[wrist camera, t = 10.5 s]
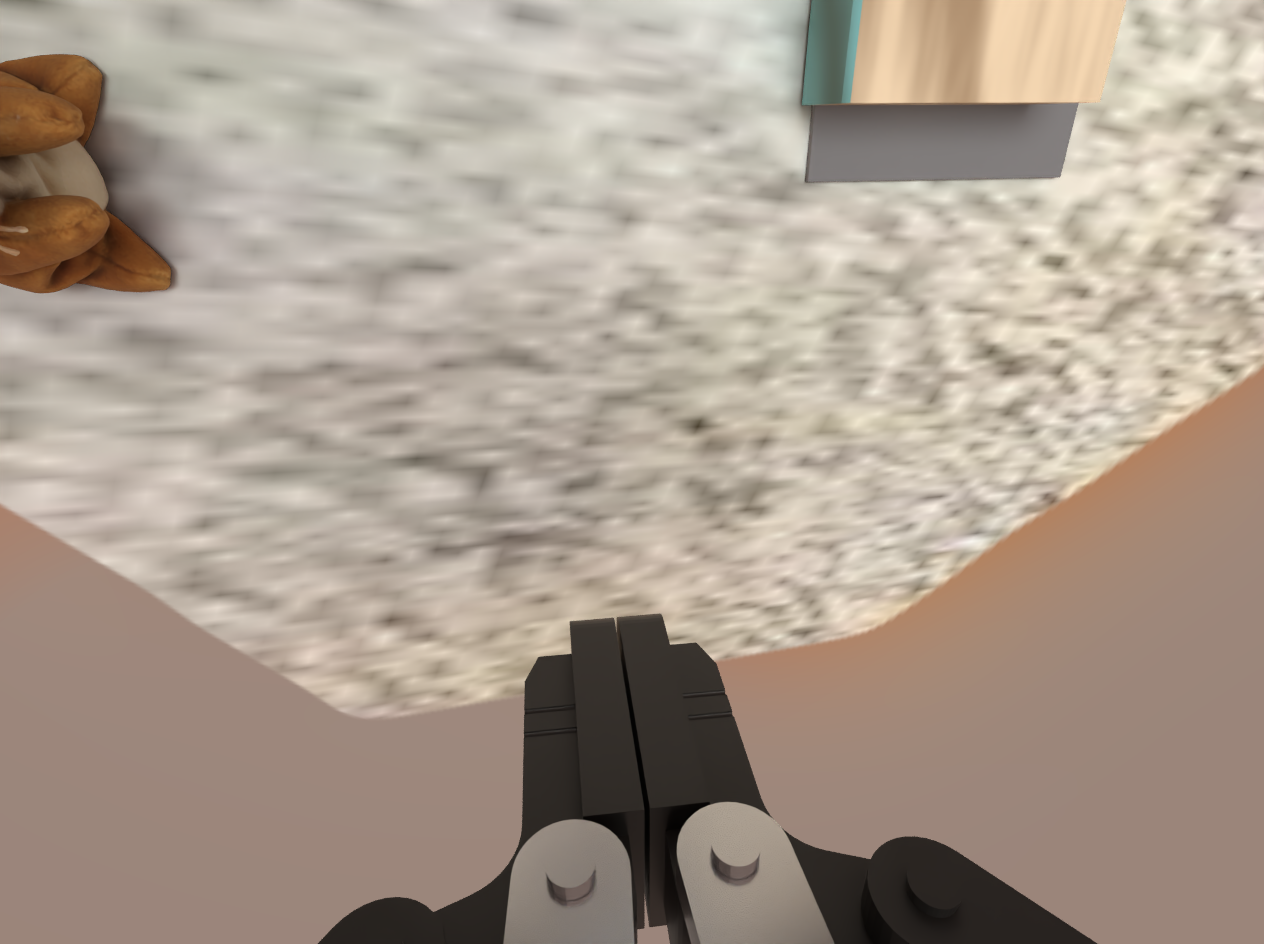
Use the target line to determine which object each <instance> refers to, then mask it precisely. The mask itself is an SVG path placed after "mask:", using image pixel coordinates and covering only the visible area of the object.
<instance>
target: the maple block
mask: <svg viewBox="0 0 1264 944" xmlns="http://www.w3.org/2000/svg"><path fill="white" fill-rule="evenodd" d="M1125 3H1126V0H812V1H811V12H810V23H809V34H808V45H807V56H806V66H805V77H804V88H803V99H802V105H1019V104H1060V103H1091V102H1100V99H1101V95H1102V91H1103V88H1104V84H1105V80H1106V76H1107V72H1108V68H1109V65H1110V61H1111V57H1112V53H1113V49H1114V45H1115V42H1116V38H1117V34H1118V30H1119V26H1120V22H1121V19H1122V15H1123V11H1124V7H1125Z"/></svg>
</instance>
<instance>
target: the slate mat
mask: <svg viewBox="0 0 1264 944" xmlns="http://www.w3.org/2000/svg"><path fill="white" fill-rule="evenodd" d="M1077 107H1078V103H1060V104H1019V105H813V106H812V116H811V126H810V137H809V147H808V158H807V168H806V178H805V181H806V182H833V181H887V180H942V179H996V178H1050V177H1060V176H1061V172H1062V168H1063V164H1064V160H1065V155H1066V151H1067V147H1068V143H1069V139H1070V135H1071V131H1072V127H1073V123H1074V119H1075V115H1076V111H1077Z"/></svg>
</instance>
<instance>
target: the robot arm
mask: <svg viewBox="0 0 1264 944" xmlns="http://www.w3.org/2000/svg"><path fill="white" fill-rule="evenodd" d="M570 635H571V652H572V654H566V655H555V656H544V657H538V659H537V661H536V663H535V665H534V666H533V668H532V670H531V672H530V673H529V675H528V677H527V679H526V681H525V705H524V706H525V707H524V710H525V715H524V759H523V812H522V813H523V814H522V817H523V818H522V832H521V838H520V842H519V845H518V848H517V850H516V852H515V854H514V856H513V858H512V859H511V861H510V862H509V864H508V865H507V866H506V868H505V869H504V870H503V871H502V872H501V874H500V875H499V876H497V878H495V879H494V880H493V881H492V882H491V883H490V884H488V885H487V886H485V887H484V888H482V889H481V890H479V891H477V892H475V893H474V894H472V895H470V896H468V897H466V898H463V899H462V900H459V901H457V902H455V903H452V904H450V905H448V906H446V907H444V908H442V909H440V910H437V911H435V912H432V911H431V910H430V909H429V908H428V907H427V906H425V905H424V904H422V903H420V902H418V901H416V900H412V899H409V898H401V897H393V898H384V899H380V900H376V901H373V902H371V903H368V904H366V905H363V906H362V907H360V908H358V909H356V910H354V911H353V912H351V913H350V914H349V915H347V916H346V917H344V918H343V919H342V920H341V921H340V922H339V923H338V924H336V925H335V926H334V927H333V928H332V929H331V930H330V931H329V932H328V934H327V935H326V936H325V937H324V938H323V939H322V940H321V941H320V942H319V943H318V944H637V929H643V928H644V893H645V900H646V906H647V914H648V921H649V927H655V926H662V925H667V927H668V934H669V940H670V944H1097V943H1096V942H1094V941H1092V940H1091V939H1090V938H1088V937H1086V936H1085V935H1083V934H1082V933H1080V932H1079V931H1077V930H1076V929H1074V928H1073V927H1071V926H1069V925H1068V924H1067V923H1065V922H1063V921H1062V920H1060V919H1059V918H1057V917H1056V916H1054V915H1053V914H1051V913H1050V912H1048V911H1047V910H1045V909H1044V908H1042V907H1041V906H1039V905H1038V904H1036V903H1035V902H1033V901H1031V900H1030V899H1028V898H1027V897H1025V896H1024V895H1022V894H1021V893H1019V892H1018V891H1016V890H1015V889H1013V888H1012V887H1010V886H1009V885H1007V884H1005V883H1004V882H1003V881H1001V880H999V879H998V878H996V877H995V876H993V875H992V874H990V873H989V872H987V871H986V870H984V869H983V868H981V867H979V866H978V865H977V864H975V863H974V862H972V861H970V860H969V859H967V858H966V857H964V856H963V855H961V854H960V853H958V852H957V851H955V850H953V849H951V848H950V847H948V846H946V845H944V844H941V843H939V842H937V841H934V840H930V839H927V838H920V837H900V838H896V839H893V840H890V841H888V842H886V843H884V844H883V845H881V846H880V847H879V848H878V849H877V850H876V851H875V853H874V854H873V856H872V858H871V859H866V858H861V857H856V856H851V855H846V854H840V853H836V852H831V851H826V850H822V849H819V848H815V847H812V846H810V845H808V844H805V843H803V842H801V841H799V840H798V839H796V838H794V837H793V836H791V835H789V834H788V833H787V832H786V831H784V830H783V829H782V828H781V827H780V825H778V823H776V821H774V819H773V818H772V817H771V816H770V814H769V813H768V811H767V809H766V808H765V806H764V804H763V801H762V799H761V796H760V794H759V790H758V787H757V784H756V781H755V778H754V775H753V772H752V769H751V767H750V763H749V760H748V757H747V754H746V751H745V749H744V745H743V742H742V740H741V736H740V733H739V730H738V727H737V725H736V721H735V719H734V717H733V715H732V709H731V706H730V703H729V700H728V698H727V695H726V694H725V688H724V685H723V683H722V679H721V676H720V673H719V670H718V667H717V664H716V663H715V662H714V661H713V660H712V659H711V658H710V657H709V655H708V654H707V653H706V652H705V651H704V650H703V649H702V648H701V647H700V646H699V645H698V644H697V643H687V644H675V645H670V644H669V640H668V636H667V632H666V628H665V624H664V620H663V617H662V615H661V614H650V615H638V616H626V617H617V633H616V627H615V621H614V618H605V619H593V620H581V621H570Z"/></svg>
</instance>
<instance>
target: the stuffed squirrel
mask: <svg viewBox="0 0 1264 944" xmlns="http://www.w3.org/2000/svg"><path fill="white" fill-rule="evenodd" d="M101 83H102V74H101V73H100V71H99V70H98V68H97V67H95V66H94V65H93V64H92V63H91V62H90V61H89V60H87V59H86V58H84V57H81V56H77V55H67V54H55V55H41V56H34V57H28V58H23V59H18V60H12V61H5V62H3V63H0V283H1V284H4V285H7V286H11V287H14V288H18V289H22V290H26V291H30V292H35V293H50V292H56V291H59V290H62V289H65V288H68V287H70V286H71V285H73V284H74V283H79V284H87V285H91V286H95V287H100V288H104V289H109V290H116V291H130V292H150V291H156V290H166V289H167V288H168V287H169V286H170V282H171V281H170V280H171V279H170V276H171V269H170V267H169V266H168V264H167V263H166V262H165V261H164V260H163V259H162V258H161V257H160V256H159V255H158V254H157V253H156V252H155V251H154V250H153V249H152V248H151V247H150V246H148V245H147V244H146V243H145V242H143V241H142V240H141V239H140V238H139V237H138V236H137V235H136V234H135V233H134V232H133V231H132V230H131V229H130V228H129V227H127V226H126V225H125V224H124V223H123V222H121V221H120V220H119V219H118V218H117V217H115V216H114V215H112V214H111V213H109V212H108V211H107V210H106V207H107V204H108V200H109V195H108V192H107V189H106V187H105V183H104V180H103V177H102V175H101V174H100V172H99V169H98V167H97V166H96V164H95V163H94V161H93V160H92V158H91V157H90V155H89V154H88V153H87V151H86V150H85V149H84V148H83V147H84V145H85V143H86V142H87V140H88V139H89V136H90V134H91V131H92V128H93V126H94V122H95V117H96V113H97V110H98V105H99V99H100V93H101Z"/></svg>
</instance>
